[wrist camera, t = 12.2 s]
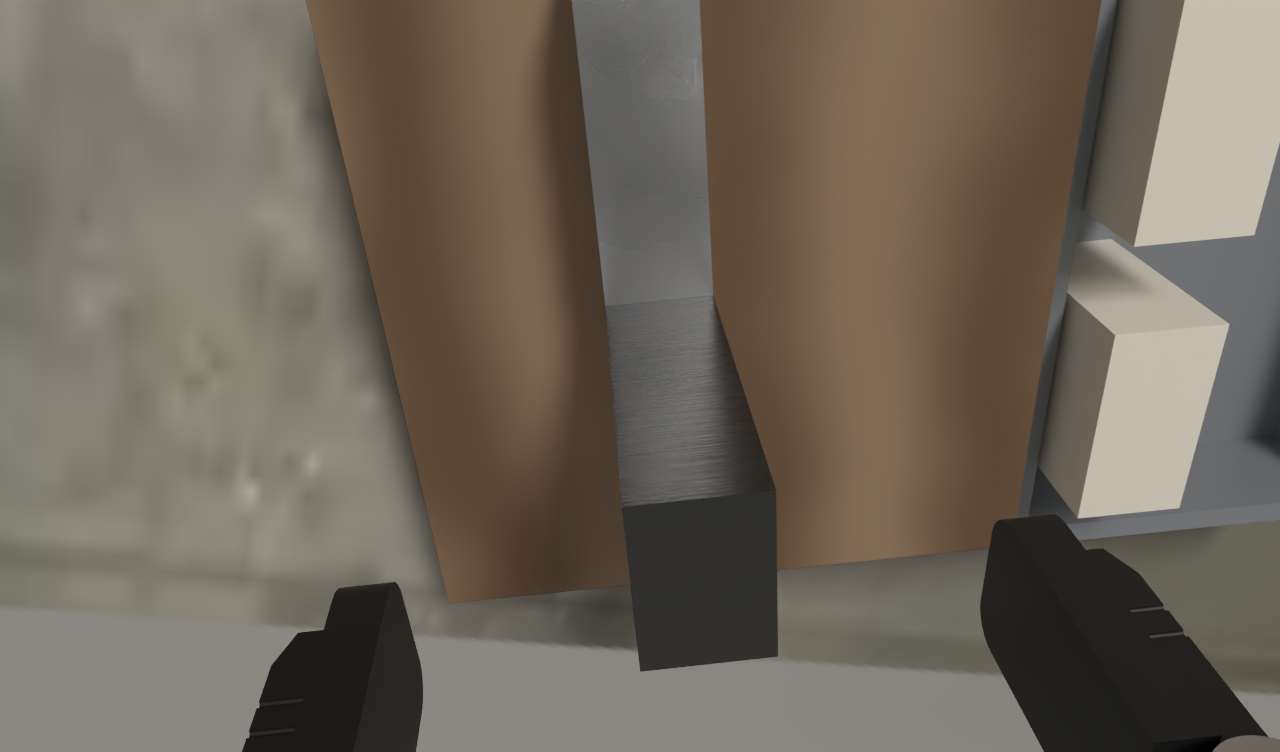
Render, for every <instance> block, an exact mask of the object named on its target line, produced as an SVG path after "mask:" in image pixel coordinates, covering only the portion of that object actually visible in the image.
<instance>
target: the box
mask: <svg viewBox="0 0 1280 752" xmlns="http://www.w3.org/2000/svg"><path fill="white" fill-rule="evenodd" d="M1117 1H1118V0H1101V6H1100V12H1099V19H1098V25H1097V31H1096V37H1095V43H1094V49H1093V55H1092V61H1091V67H1090V73H1089V79H1088V85H1087V91H1086V97H1085V104H1084V110H1083V116H1082V122H1081V128H1080V134H1079V140H1078V146H1077V152H1076V158H1075V164H1074V170H1073V176H1072V183H1071V189H1070V195H1069V201H1068V207H1067V213H1066V219H1065V225H1064V231H1063V237H1062V243H1061V249H1060V255H1059V261H1058V268H1057V274H1056V280H1055V286H1054V292H1053V298H1052V304H1051V310H1050V316H1049V322H1048V328H1047V334H1046V340H1045V347H1044V353H1043V359H1042V365H1041V371H1040V377H1039V383H1038V389H1037V395H1036V401H1035V407H1034V413H1033V419H1032V426H1031V432H1030V438H1029V444H1028V450H1027V456H1026V462H1025V468H1024V474H1023V480H1022V486H1021V492H1020V498H1019V504H1018V511H1017V517H1016V518H1021V517H1030V516H1039V515H1049V514H1055V515H1057V516H1059V517H1060V518H1062V519H1063V521H1064V522H1065V523H1066V524H1067V526H1068V527H1069V528H1070V530H1071V531H1072V532H1073V534H1074V535H1075V536H1076V538H1077V539H1078V540H1086V539H1096V538H1105V537H1115V536H1125V535H1135V534H1144V533H1154V532H1164V531H1174V530H1184V529H1193V528H1203V527H1213V526H1223V525H1232V524H1242V523H1252V522H1262V521H1272V520H1280V143H1279V147H1278V151H1277V154H1276V158H1275V162H1274V165H1273V169H1272V173H1271V176H1270V180H1269V184H1268V187H1267V191H1266V195H1265V198H1264V202H1263V206H1262V209H1261V213H1260V217H1259V220H1258V224H1257V228H1256V231H1255V235H1251V236H1241V237H1231V238H1220V239H1210V240H1200V241H1189V242H1179V243H1169V244H1158V245H1148V246H1137V247H1134V246H1132V245H1131V244H1129V243H1128V242H1127V241H1125V240H1124V239H1122V238H1121V237H1119V236H1118V235H1117V234H1115V233H1114V232H1112V231H1111V230H1110V229H1108V228H1107V227H1105V226H1104V225H1103V224H1101V223H1100V222H1098V221H1097V220H1095V219H1094V218H1093V217H1091V216H1090V215H1088V214H1087V213H1086V212H1084V211H1083V210H1082V204H1083V198H1084V192H1085V186H1086V181H1087V175H1088V169H1089V163H1090V157H1091V152H1092V146H1093V140H1094V134H1095V129H1096V123H1097V117H1098V111H1099V105H1100V100H1101V94H1102V88H1103V82H1104V76H1105V71H1106V65H1107V59H1108V53H1109V47H1110V42H1111V36H1112V30H1113V24H1114V19H1115V13H1116V7H1117ZM1106 239H1112V240H1114V241H1115V242H1116V243H1118V244H1119V245H1121V246H1122V247H1123V248H1125V249H1126V250H1128V251H1129V252H1130V253H1132V254H1133V255H1134V256H1136V257H1137V258H1139V259H1140V260H1141V261H1143V262H1144V263H1146V264H1147V265H1148V266H1150V267H1151V268H1152V269H1154V270H1155V271H1157V272H1158V273H1159V274H1161V275H1162V276H1164V277H1165V278H1166V279H1168V280H1169V281H1170V282H1172V283H1173V284H1175V285H1176V286H1177V287H1179V288H1180V289H1182V290H1183V291H1184V292H1186V293H1187V294H1188V295H1190V296H1191V297H1193V298H1194V299H1195V300H1197V301H1198V302H1200V303H1201V304H1202V305H1204V306H1205V307H1206V308H1208V309H1209V310H1211V311H1212V312H1213V313H1215V314H1216V315H1218V316H1219V317H1220V318H1222V319H1223V320H1225V321H1226V322H1227V323H1229V328H1228V332H1227V335H1226V339H1225V343H1224V346H1223V350H1222V354H1221V357H1220V361H1219V365H1218V368H1217V372H1216V376H1215V379H1214V383H1213V387H1212V390H1211V394H1210V398H1209V401H1208V405H1207V409H1206V412H1205V416H1204V420H1203V423H1202V427H1201V430H1200V434H1199V438H1198V441H1197V445H1196V449H1195V452H1194V456H1193V460H1192V463H1191V467H1190V471H1189V474H1188V478H1187V482H1186V485H1185V489H1184V493H1183V496H1182V500H1181V504H1180V507H1179V508H1176V509H1166V510H1156V511H1147V512H1137V513H1127V514H1117V515H1107V516H1098V517H1088V518H1077V517H1076V516H1075V514H1074V513H1073V512H1072V510H1071V509H1070V508H1069V507H1068V505H1067V504H1066V503H1065V501H1064V500H1063V499H1062V497H1061V496H1060V495H1059V493H1058V492H1057V491H1056V489H1055V488H1054V487H1053V485H1052V484H1051V483H1050V481H1049V480H1048V479H1047V477H1046V476H1045V475H1044V474H1043V472H1042V471H1041V470H1040V468H1039V467H1038V466H1037V464H1038V458H1039V453H1040V447H1041V441H1042V435H1043V429H1044V424H1045V418H1046V412H1047V406H1048V401H1049V395H1050V389H1051V383H1052V377H1053V372H1054V366H1055V360H1056V354H1057V348H1058V343H1059V337H1060V331H1061V325H1062V320H1063V314H1064V308H1065V302H1066V296H1067V291H1068V285H1069V279H1070V273H1071V267H1072V262H1073V256H1074V250H1075V244H1076V242H1086V241H1096V240H1106Z"/></svg>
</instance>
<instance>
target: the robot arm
mask: <svg viewBox="0 0 1280 752" xmlns="http://www.w3.org/2000/svg"><path fill="white" fill-rule="evenodd" d="M980 611H981V622H982V627H983V631H984V635H985V639H986V642H987V644H988V647H989V649H990V651H991V653H992V655H993V657H994V659H995V660H996V662H997V664H998V666H999V668H1000V670H1001V672H1002V674H1003V675H1004V677H1005V679H1006V681H1007V683H1008V685H1009V686H1010V689H1011V690H1012V692H1013V694H1014V696H1015V698H1016V700H1017V702H1018V703H1019V705H1020V707H1021V709H1022V711H1023V713H1024V715H1025V717H1026V719H1027V720H1028V722H1029V724H1030V726H1031V728H1032V730H1033V732H1034V734H1035V735H1036V737H1037V739H1038V741H1039V743H1040V745H1041V747H1042V749H1043V750H1044V752H1280V740H1279V739H1275V738H1270V737H1268V736H1267V735H1266V733H1265V732H1264V731H1263V730H1262V729H1261V727H1260V726H1259V725H1258V724H1257V722H1256V721H1255V720H1254V719H1253V717H1252V716H1251V715H1250V713H1249V712H1248V711H1247V710H1246V708H1245V707H1244V706H1243V705H1242V703H1241V702H1240V701H1239V700H1238V698H1237V697H1236V696H1235V695H1234V693H1233V692H1232V691H1231V689H1230V688H1229V687H1228V686H1227V684H1226V683H1225V682H1224V681H1223V679H1222V678H1221V677H1220V675H1219V674H1218V673H1217V672H1216V670H1215V669H1214V668H1213V667H1212V665H1211V664H1210V663H1209V662H1208V660H1207V659H1206V658H1205V656H1204V655H1203V654H1202V653H1201V651H1200V650H1199V649H1198V648H1197V646H1196V645H1195V644H1194V643H1193V641H1192V640H1191V639H1190V637H1189V636H1187V637H1185V635H1184V633H1183V629H1182V627H1181V626H1180V625H1179V624H1178V622H1177V621H1176V620H1175V618H1174V617H1173V616H1172V615H1171V613H1170V612H1169V611H1165V610H1164V608H1163V603H1162V602H1161V601H1160V599H1159V598H1158V597H1157V596H1156V594H1155V593H1154V592H1153V591H1152V589H1151V588H1150V587H1149V586H1148V584H1147V583H1146V582H1145V580H1144V579H1143V578H1142V577H1141V575H1140V574H1139V573H1138V572H1136V571H1135V570H1133V569H1132V568H1130V567H1129V566H1127V565H1126V564H1125V563H1123V562H1122V561H1120V560H1119V559H1117V558H1116V557H1114V556H1113V555H1111V554H1110V553H1109V552H1107V551H1106V550H1104V549H1103V548H1100V549H1091V550H1085V549H1084V547H1083V546H1082V545H1081V543H1080V542H1079V540H1078V539H1077V538H1076V536H1075V535H1074V534H1073V532H1072V531H1071V530H1070V528H1069V527H1068V526H1067V524H1066V523H1065V522H1064V521H1063V519H1062V518H1060V517H1059V516H1057V515H1055V514H1049V515H1039V516H1030V517H1021V518H1011V519H1002V520H998V521H997V522H996V523H995V524H994V527H993V530H992V534H991V541H990V547H989V553H988V559H987V566H986V572H985V578H984V584H983V590H982V597H981V604H980ZM259 702H260V707H259V708H257V709H256V712H255V715H254V718H253V721H252V724H251V727H250V730H249V732H250V736H249V738H247V739H246V742H245V745H244V748H243V751H242V752H416V747H417V740H418V734H419V727H420V720H421V714H422V704H423V682H422V671H421V665H420V660H419V656H418V653H417V649H416V645H415V641H414V638H413V634H412V630H411V627H410V623H409V619H408V616H407V612H406V608H405V604H404V601H403V597H402V593H401V590H400V588H399V586H398V584H397V583H396V582H391V583H382V584H372V585H363V586H354V587H344V588H339V589H338V590H337V591H336V592H335V594H334V597H333V600H332V603H331V607H330V610H329V613H328V617H327V620H326V624H325V627H324V630H320V631H311V632H301V633H298V634H297V635H296V636H295V637H294V639H293V640H292V641H291V642H290V644H289V645H288V646H287V647H286V648H285V650H284V651H283V652H282V653H281V655H280V656H279V657H278V658H277V660H276V661H275V662H274V663H273V665H272V666H271V668H270V671H269V674H268V677H267V681H266V683H265V686H264V689H263V692H262V695H261V698H260V701H259Z"/></svg>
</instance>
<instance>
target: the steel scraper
mask: <svg viewBox="0 0 1280 752" xmlns="http://www.w3.org/2000/svg"><path fill="white" fill-rule="evenodd" d="M572 8H573V17H574V26H575V35H576V44H577V53H578V62H579V71H580V80H581V89H582V98H583V108H584V117H585V126H586V135H587V144H588V153H589V162H590V171H591V180H592V189H593V198H594V207H595V216H596V226H597V235H598V244H599V253H600V262H601V271H602V280H603V289H604V298H605V308H606V320H607V332H608V344H609V357H610V369H611V381H612V394H613V406H614V418H615V431H616V443H617V455H618V467H619V480H620V492H621V504H622V514H623V523H624V531H625V540H626V549H627V558H628V566H629V575H630V584H631V593H632V602H633V610H634V619H635V628H636V637H637V645H638V654H639V663H640V671H649V670H659V669H668V668H677V667H686V666H694V665H703V664H713V663H722V662H732V661H741V660H750V659H759V658H768V657H777V656H778V627H777V516H776V488H775V485H774V482H773V479H772V476H771V473H770V470H769V467H768V463H767V460H766V457H765V454H764V451H763V448H762V445H761V442H760V439H759V436H758V432H757V429H756V426H755V423H754V420H753V417H752V414H751V411H750V408H749V405H748V402H747V398H746V395H745V392H744V389H743V386H742V383H741V380H740V377H739V374H738V371H737V368H736V364H735V361H734V358H733V355H732V352H731V349H730V346H729V343H728V340H727V337H726V334H725V330H724V327H723V324H722V321H721V318H720V315H719V312H718V309H717V306H716V303H715V300H714V296H713V282H712V260H711V238H710V217H709V195H708V173H707V151H706V129H705V107H704V85H703V63H702V41H701V19H700V0H572Z"/></svg>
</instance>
